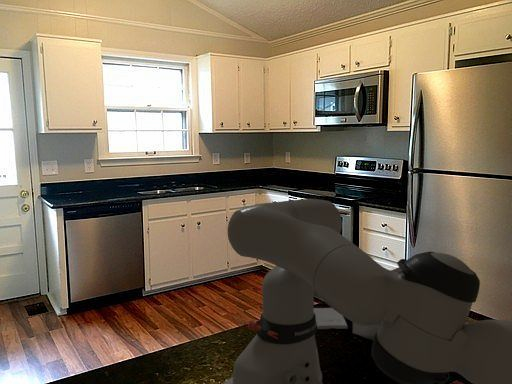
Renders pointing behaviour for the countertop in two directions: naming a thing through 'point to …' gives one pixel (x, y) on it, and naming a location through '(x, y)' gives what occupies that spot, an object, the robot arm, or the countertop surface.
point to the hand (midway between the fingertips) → (487, 332)
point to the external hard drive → (329, 319)
